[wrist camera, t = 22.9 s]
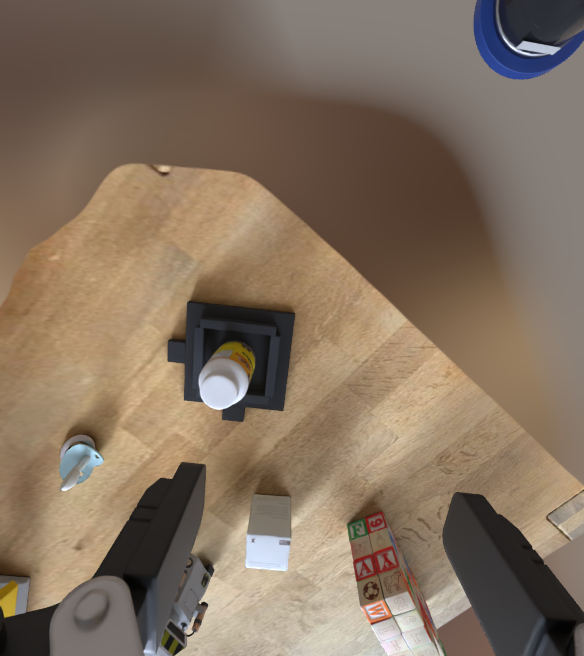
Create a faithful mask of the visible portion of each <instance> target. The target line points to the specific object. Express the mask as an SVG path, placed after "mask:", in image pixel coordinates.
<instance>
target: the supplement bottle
mask: <svg viewBox="0 0 584 656" xmlns="http://www.w3.org/2000/svg"><path fill="white" fill-rule="evenodd" d="M255 365H256V358H255V354H254V352H253V351H252V349H251V348H250V347H249V346H248V345H246V344H245V343H243V342H240V341H229V342H226V343H224V344H222V345H221V346H220V347H219V348H218V349H217V351H216V352H215V353H214V354H213V356H212V357H211V358H210V360H209V361H208V362H207V363H206V365H205V366H204V367H203V369H202V371H201V373H200V375H199V387H200V395H201V398H202V400H203V401H204V403H205V404H206V405H208V406H209V407H212V408H214V409H225V408H228V407H230V406H231V405H232V404H235V403H237V402H238V401H240V400H241V399H242V398H243V397H244V395H245V394H246V392H247V390H248V386H249V383H250V380H251V378H252V375H253V372H254V369H255Z"/></svg>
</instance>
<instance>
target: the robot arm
mask: <svg viewBox="0 0 584 656" xmlns="http://www.w3.org/2000/svg"><path fill="white" fill-rule="evenodd" d="M493 21H494V27H495V31H496V34H497V36H498V38H499V40H500V42H501V43H502V45H503V46H504V47H505V48H506V49H507V50H508V51H509V52H510V53H512V54H513V55H515V56H517V57H520V58H524V59H539V58H543V57H546V56H549V55H553V54H554V53H556V52H557V51H558V50H560V49H561V48H562V47H563V46H564V45H566V44H567V43H568V42H569V41H571V40H572V39H573V38H574V37H575V36H576V35H577V34H579V33H580V32H582V31H583V30H584V0H494V7H493ZM205 481H206V465H205V464H196V463H187V462H182V463H181V464H180V465H179V467H178V469H177V471H176V473H175V475H174V477H173V479H167V478H160V479H159V480H158V481H156V482H155V483H154V484H153V485H151V486H150V487H149V488H148V489H147V490H146V491H145V493H144V494H143V496H142V498H141V499H140V501H139V503H138V504H137V507H136V508H135V509H134V511H133V512H132V514H131V516H130V518H129V521H127V522H126V524H125V526H124V527H123V529H122V531H121V532H120V534H119V535H118V537H117V539H116V540H115V542H114V544H113V545H112V547H111V549H110V550H109V552H108V553H107V555H106V557H105V558H104V560H103V562H102V563H101V565H100V567H99V568H98V570H97V572H96V573H95V574H94V576H93V577H92V578H91V579H90V580H88V581H86V582H84V583H82V584H81V585H79V586H78V587H76V588H75V589H74V590H72V591H71V592H70V593H69V594H68V595H67V596H66V597H65V598H64V599H63V600H62V602H60V603H58V604H56V605H53V606H50V607H47V608H43V609H39V610H35V611H31V612H26V613H22V614H18V615H14V616H9V617H5V618H4V613H3V610H2V608H1V606H0V656H145V654H155V655H156V653H157V650H158V647H159V645H160V642H161V639H162V636H163V633H164V630H165V627H166V624H167V621H168V618H169V615H170V612H171V609H172V606H173V603H174V600H175V598H176V595H177V592H178V589H179V586H180V583H181V580H182V577H183V574H184V571H185V568H186V565H187V562H188V559H189V556H190V554H191V551H192V548H193V545H194V542H195V539H196V536H197V533H198V530H199V527H200V524H201V520H202V515H203V510H204V499H205ZM442 537H443V545H444V549H445V552H446V554H447V556H448V558H449V560H450V562H451V564H452V566H453V568H454V571H455V573H456V575H457V577H458V579H459V581H460V583H461V585H462V587H463V589H464V591H465V593H466V595H467V597H468V599H469V601H470V603H471V605H472V608H473V609H474V612H475V614H476V616H477V618H478V619H479V621H480V624H481V626H482V628H483V630H484V632H485V634H486V636H487V638H488V640H489V642H490V645H491V646H492V649H493V651H494V653H495V655H496V656H584V612H583V611H582V610H581V608H580V607H579V606H578V604H577V603H576V602H575V601H574V599H573V598H572V597H571V596H570V594H569V593H568V592H567V590H566V589H565V588H564V587H563V586H562V584H561V583H560V582H559V580H558V579H557V578H556V576H555V575H554V574H553V573H552V571H551V570H550V569H549V567H548V566H547V565H544V562H543V560H542V558H541V557H540V556H539V555H538V553H537V552H536V551H535V550H533V549H532V546H531V544H530V543H529V542H528V541H527V539H526V538H525V537H524V535H523V534H522V533H521V532H520V530H519V529H518V528H516V527H515V526H514V525H513V524H512V523H511V522H509V521H508V520H507V519H506V518H505V517H503V516H502V515H501V514H497V513H496V511H495V510H494V509H493V507H492V506H491V505H490V503H489V502H488V501H487V499H486V498H485V497H484V496H483V495H480V494H472V493H462V492H456V493H454V495H453V497H452V500H451V504H450V507H449V510H448V514H447V517H446V521H445V524H444V528H443V535H442Z"/></svg>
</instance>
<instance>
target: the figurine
mask: <svg viewBox="0 0 584 656" xmlns="http://www.w3.org/2000/svg"><path fill="white" fill-rule="evenodd" d="M213 573H214V569H213V567H212V565H209V564H208V565H207V566H206V567H205V566H203V564H202V562H201V561H200V559H199V557H197V556H195V555H193V554H190V556H189V559H188V562H187V565H186V568H185V571H184V574H183V577H182V580H181V583H180V586H179V589H178V592H177V595H176V598H175V600H174V603H173V606H172V609H171V612H170V615H169V618H168V621H167V624H166V627H165V630H164V633H163V636H162V639H161V642H160V645H159V647H158V650H157V653H156V655H155V654H145V656H175V655H176V654H177V653H179V652H180V651H181V650H183V649H184V648H185V647H186V646H187V637H189V636H192V635H193V634H194V632H198V630H199V627H200V625H201V623H202V619H203V617H204V614H205V611H206V609H207V607H208V604H207V603H206V602H202V603H201V604H199V601H200V600H201V598H202V597H203V595H204V593H205V592H206V589H207V587H208V584H209V581H210V578H211V577H212V575H213ZM193 616H194V617H196V619H195V621H194V625H193V627H192V631H193V633H192V634H190V635H187V634H186V633H185V632H184V631H186V630H187V628H188V626H189V624H190V622H191V620H192V617H193Z"/></svg>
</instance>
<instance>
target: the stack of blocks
mask: <svg viewBox="0 0 584 656" xmlns="http://www.w3.org/2000/svg"><path fill="white" fill-rule="evenodd" d="M347 528H348V535H349V541H350V544H351V550H352V556H353V560H354V561H353V565H354V571H355V577H356V582H357V588H358V595H359V601H360V607H361V609H362V610H363V612H364V614H365V616H366V618H367V619H368V621H369V623H370V625H371V628H372V629H373V631H374V633H375V634H376V636H377V638H378V639H379V641H380V643H381V645H382V647H383V648H384V650H385V652H386V653H387V655H389V656H447V655H446V653H445V650H444V647H443V645H442V643H441V641H440V638H439V635H438V633H437V630H436V627H435V625H434V622H433V620H432V617H431V614H430V612H429V609H428V606H427V604H426V602H425V600H424V598H423V596H422V593H421V591H420V589H419V587H418V584H417V582H416V581H415V578H414V576H413V574H412V572H411V570H410V568H409V567H408V565H407V563H406V561H405V558H404V556H403V554H402V552H401V550H400V548H399V546H398V544H397V542H396V539H395V537H394V535H393V533H392V531H391V528H390V526H389V524H388V522H387V520H386V518H385V515H384V513H383V512H379V513H377V514H374V515H371V516H369V517H366V518H364V519H361V520H358V521H355V522H353V523H350V524H347Z"/></svg>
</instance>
